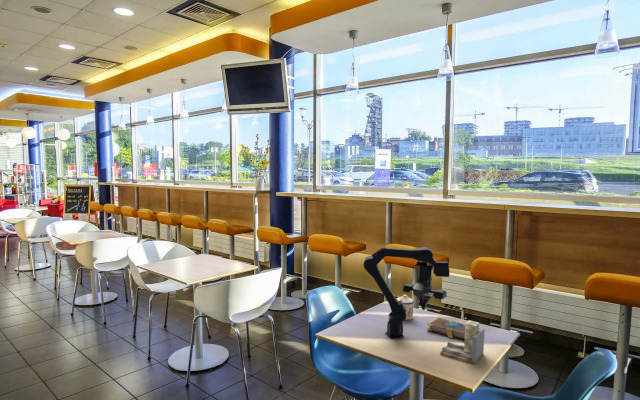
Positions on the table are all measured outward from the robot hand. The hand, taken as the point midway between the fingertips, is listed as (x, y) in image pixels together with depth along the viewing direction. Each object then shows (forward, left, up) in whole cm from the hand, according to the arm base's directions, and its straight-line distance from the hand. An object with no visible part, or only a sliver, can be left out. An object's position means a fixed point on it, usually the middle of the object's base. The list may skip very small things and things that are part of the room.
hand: (423, 309), depth 179 cm
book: (+17, +3, -14) cm, 22 cm away
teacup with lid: (+7, +26, -13) cm, 30 cm away
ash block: (+8, -22, -12) cm, 26 cm away
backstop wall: (+10, -24, -12) cm, 29 cm away
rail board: (+6, -19, -13) cm, 24 cm away
